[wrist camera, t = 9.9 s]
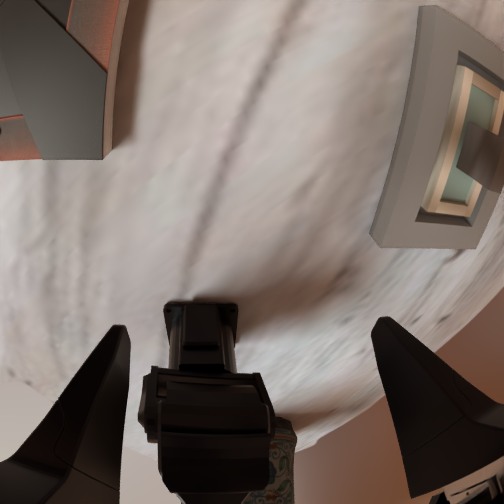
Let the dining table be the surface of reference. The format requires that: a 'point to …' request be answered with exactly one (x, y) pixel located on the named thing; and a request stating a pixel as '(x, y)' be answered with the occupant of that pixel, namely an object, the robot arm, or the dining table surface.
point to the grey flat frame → (434, 137)
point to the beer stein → (279, 468)
